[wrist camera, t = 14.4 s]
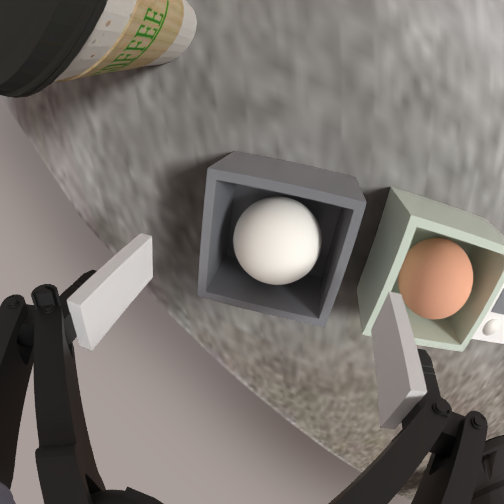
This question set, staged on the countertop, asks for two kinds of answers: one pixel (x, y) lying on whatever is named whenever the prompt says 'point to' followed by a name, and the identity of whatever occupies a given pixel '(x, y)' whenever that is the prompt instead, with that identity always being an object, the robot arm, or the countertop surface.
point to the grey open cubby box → (269, 185)
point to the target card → (493, 322)
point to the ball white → (277, 240)
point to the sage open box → (410, 233)
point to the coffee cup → (86, 39)
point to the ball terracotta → (435, 278)
